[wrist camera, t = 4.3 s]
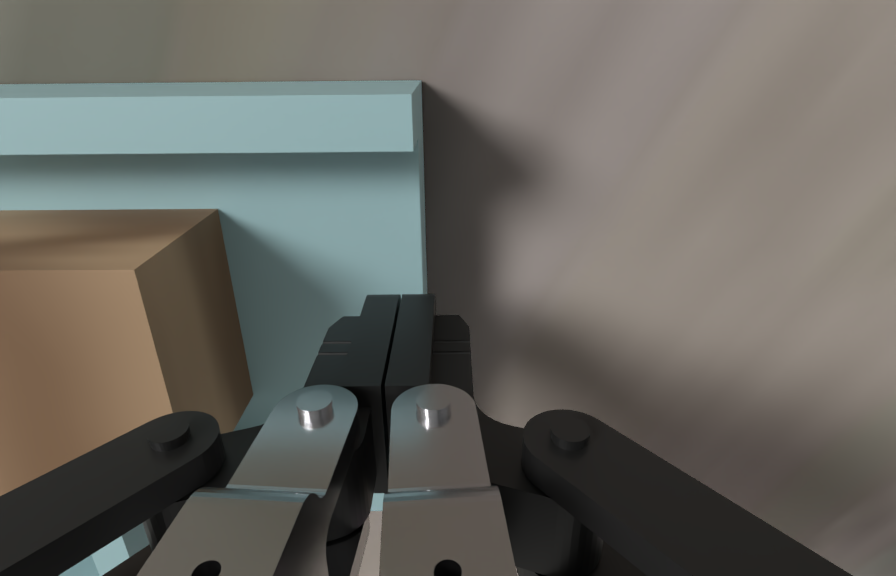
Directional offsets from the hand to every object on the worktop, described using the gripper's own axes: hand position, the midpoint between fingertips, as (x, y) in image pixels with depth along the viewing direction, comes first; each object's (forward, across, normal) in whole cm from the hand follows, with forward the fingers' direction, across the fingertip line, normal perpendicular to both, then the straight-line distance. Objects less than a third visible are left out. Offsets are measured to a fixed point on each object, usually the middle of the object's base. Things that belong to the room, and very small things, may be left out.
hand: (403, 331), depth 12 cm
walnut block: (+1, +7, 0) cm, 7 cm away
